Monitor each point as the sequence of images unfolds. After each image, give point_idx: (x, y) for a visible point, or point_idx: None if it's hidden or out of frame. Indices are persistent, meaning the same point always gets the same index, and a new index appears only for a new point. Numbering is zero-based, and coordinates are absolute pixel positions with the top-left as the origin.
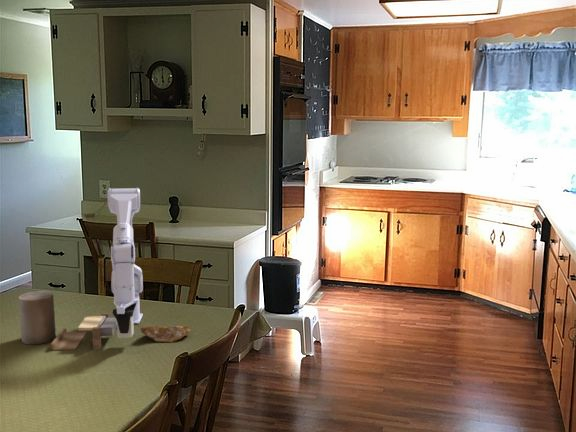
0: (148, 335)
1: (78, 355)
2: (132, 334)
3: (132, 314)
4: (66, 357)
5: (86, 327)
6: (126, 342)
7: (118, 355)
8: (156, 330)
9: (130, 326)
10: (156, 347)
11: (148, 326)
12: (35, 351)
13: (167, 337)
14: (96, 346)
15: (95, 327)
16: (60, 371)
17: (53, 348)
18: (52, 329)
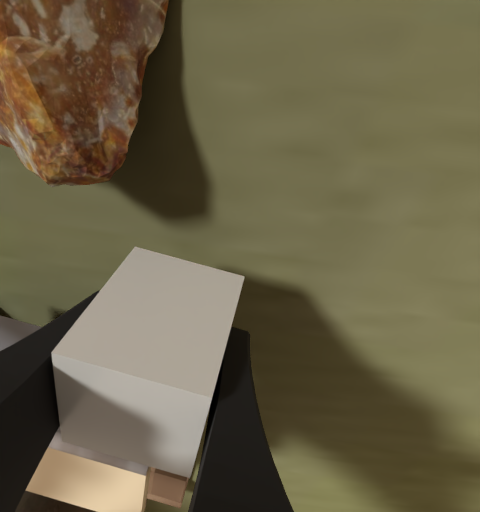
0: (134, 115)
1: (270, 436)
2: (201, 271)
3: (31, 375)
4: (278, 465)
5: (138, 503)
6: (135, 245)
7: (346, 313)
8: (59, 22)
9: (223, 351)
10: (290, 46)
11: (42, 122)
12: (185, 506)
13: None
14: None
15: (160, 489)
16: (427, 500)
17: (186, 485)
18: (60, 510)
